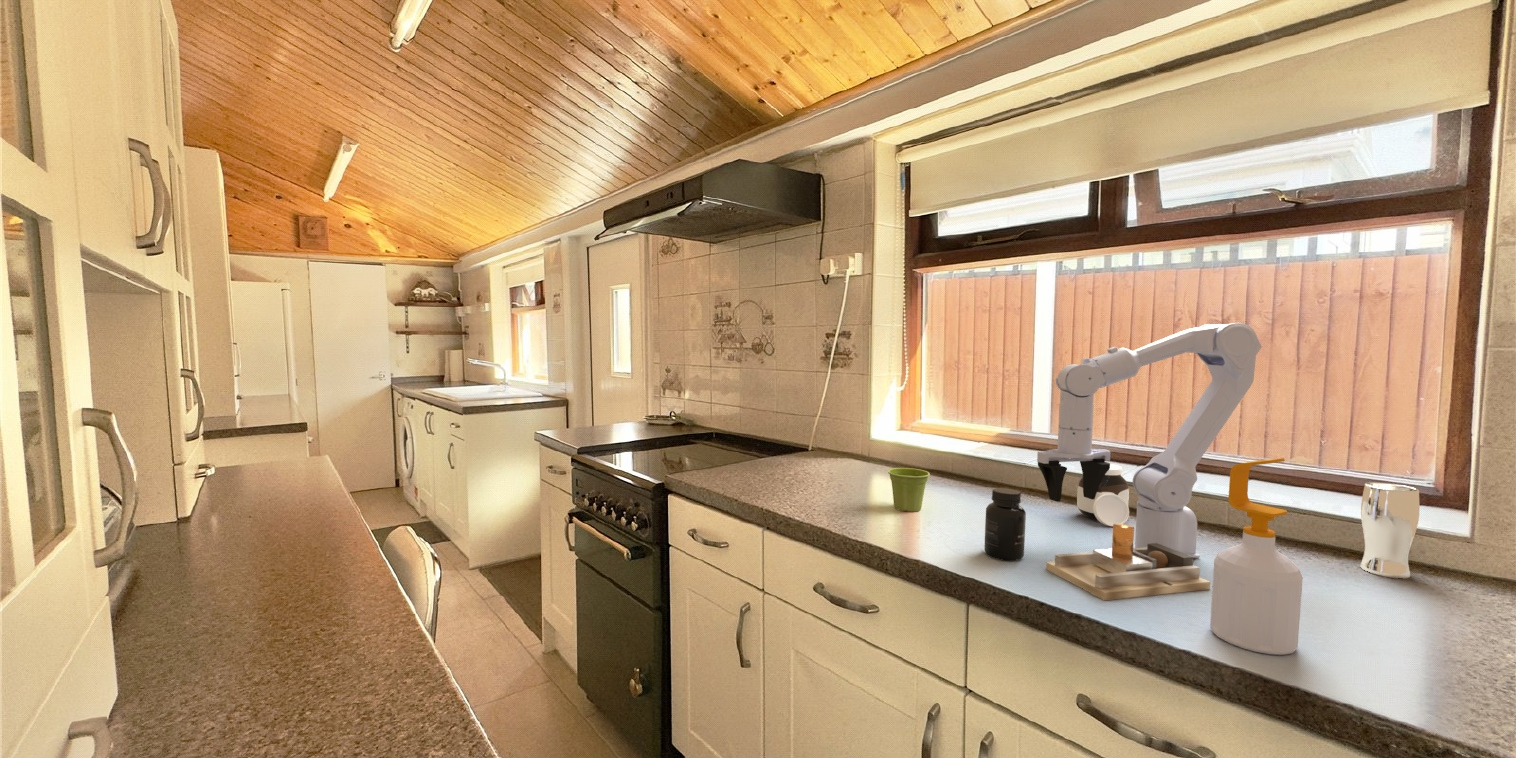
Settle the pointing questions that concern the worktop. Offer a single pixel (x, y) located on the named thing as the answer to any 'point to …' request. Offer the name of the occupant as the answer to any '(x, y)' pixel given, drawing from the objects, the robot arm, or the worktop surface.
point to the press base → (1132, 574)
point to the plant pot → (908, 488)
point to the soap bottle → (1255, 580)
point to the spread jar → (1107, 499)
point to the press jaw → (1122, 553)
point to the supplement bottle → (1005, 526)
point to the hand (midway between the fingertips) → (1072, 499)
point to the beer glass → (1388, 527)
